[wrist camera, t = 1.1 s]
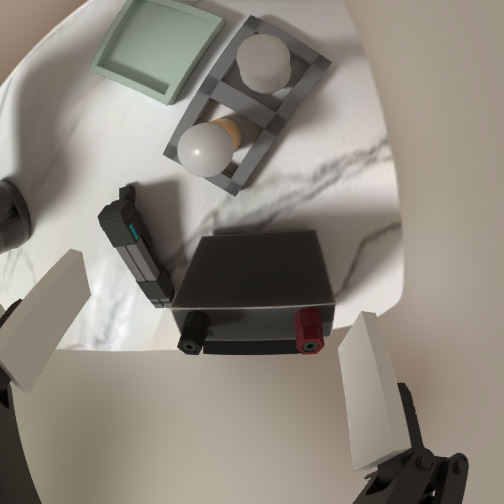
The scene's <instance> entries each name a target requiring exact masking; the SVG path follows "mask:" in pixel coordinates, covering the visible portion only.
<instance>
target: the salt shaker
mask: <svg viewBox="0 0 504 504" xmlns="http://www.w3.org/2000/svg"><path fill="white" fill-rule="evenodd" d="M290 57H291V56H290V53H289V50H288V48H287V46H286V45H285V44H284V43H283V42H282V41H281V40H280V39H279V38H278V37H275V36H272V35H269V34H255V35H253V36H251V37H249V38H247V39H245V40H244V41H243V42H242V44H241V45H240V46H239V47H238V50H237V57H236V61H237V64H238V66H239V69H240V75H241V78H242V80H243V83H244V84H246V85H247V86H248V87H249V88H250V89H251V90H254V91H256V92H259V93H262V94H263V93H274V92H276V91H278V90H280V89H282V88H284V87H285V85H286V84H287V83H288V81H289V80H290V77H291V71H292V68H291V65H290Z"/></svg>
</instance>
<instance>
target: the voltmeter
mask: <svg viewBox="0 0 504 504" xmlns="http://www.w3.org/2000/svg"><path fill="white" fill-rule="evenodd" d="M335 305H336V303H335V299H334V294H333V290H332V286H331V282H330V278H329V274H328V271H327V267H326V263H325V259H324V256H323V252H322V248H321V245H320V241H319V238H318V234H317V231H316V230H301V231H283V232H265V233H249V234H233V235H218V236H203V237H201V239H200V242H199V244H198V246H197V248H196V250H195V252H194V254H193V257H192V259H191V261H190V263H189V265H188V268H187V270H186V272H185V274H184V276H183V279H182V281H181V283H180V286H179V288H178V290H177V292H176V295H175V297H174V299H173V302H172V304H171V306H170V310H171V313H172V315H173V318H174V320H175V323H176V325H177V328H178V330H179V332H180V335H181V337H180V340H179V343H178V346H177V347H178V348H179V349H180V350H181V351H183V352H184V353H185V354H190V355H199V353H200V351H201V349H202V347H203V353H204V354H219V355H273V354H274V355H276V354H298V353H302V354H317V353H318V352H319V351H320V350H321V349H322V348H323V347H324V339H323V337H331V335H332V328H333V321H334V313H335Z"/></svg>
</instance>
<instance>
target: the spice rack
mask: <svg viewBox="0 0 504 504" xmlns="http://www.w3.org/2000/svg"><path fill="white" fill-rule="evenodd" d="M255 34H269V35H272V36H275V37H278V38H279V39H280V40H281V41H282V42H283V43H284V44H285V45H286V46H287V48H288V50H289V53H290V54H291V55H293V56H295V57H296V58H298V59H299V60H301V61H303V62H304V63H306V64H307V65H309V68H308V69H307V70H306V71H305V73H304V74H303V75H302V77H301V78H300V79H299V81H298V82H297V83H296V85H295V86H294V87H293V89H292V90H291V91H290V93H289V94H288V96H287V97H286V98H285V100H284V101H283V102H282V104H281V105H280V107H279V108H278V109H277V111H276V112H274V111H273V110H271V109H270V108H268V107H266V106H265V105H263V104H261V103H260V102H258V101H256V100H255V99H253V98H251V97H250V96H248V95H246V94H244V93H243V92H241V91H239V90H237V89H236V88H234V87H232V86H230V85H228V84H226V83H224V82H223V81H224V80H225V78H226V77H227V75H228V74H229V72H230V71H231V69H232V68H233V66H234V65H235V63H236V62H237V61H236V57H237V50H238V47H239V46H240V45H241V44H242V42H243V41H244V40H245V39H247V38H249V37H251V36H253V35H255ZM331 63H332V62H331V61H329V60H328V59H326V58H325V57H323V56H322V55H320V54H319V53H317V52H316V51H314V50H313V49H311V48H310V47H308V46H307V45H305V44H303V43H302V42H300V41H299V40H297V39H295V38H293V37H292V36H290V35H288V34H287V33H285V32H283V31H281V30H279V29H278V28H276V27H274V26H272V25H270V24H268V23H266V22H264V21H262V20H260V19H258V18H256V17H254V16H252V15H251V16H250V17H249V18H248V19H247V21H246V22H245V23H244V24H243V26H242V27H241V28H240V30H239V31H238V32H237V33H236V35H235V36H234V37H233V39H232V40H231V42H230V43H229V44H228V46H227V47H226V48H225V50H224V51H223V53H222V54H221V56H220V57H219V59H218V60H217V61H216V63H215V64H214V66H213V67H212V69H211V70H210V72H209V74H208V75H207V77H206V78H205V80H204V81H203V83H202V85H201V86H200V88H199V89H198V91H197V93H196V94H195V96H194V98H193V99H192V101H191V103H190V104H189V106H188V108H187V110H186V111H185V113H184V115H183V117H182V118H181V120H180V122H179V124H178V126H177V128H176V129H175V131H174V133H173V135H172V137H171V139H170V141H169V143H168V145H167V147H166V149H165V151H164V153H163V155H164V156H166V157H168V158H170V159H172V160H173V161H175V162H177V163H179V164H180V165H182V166H183V167H184V168H185V169H186V170H187V171H188V172H189V173H191V174H193V175H195V176H198V177H203V178H205V179H206V180H208V181H210V182H212V183H213V184H215V185H217V186H218V187H220V188H222V189H223V190H225V191H227V192H228V193H230V194H232V195H233V196H235V197H236V195H237V194H238V192H239V191H240V189H241V188H242V186H243V185H244V183H245V182H246V180H247V179H248V177H249V176H250V174H251V173H252V171H253V170H254V168H255V167H256V165H257V164H258V162H259V161H260V160H261V158H262V157H263V155H264V154H265V152H266V151H267V149H268V148H269V147H270V145H271V144H272V142H273V141H274V139H275V138H276V137H277V135H278V134H279V132H280V131H281V130H282V128H283V127H284V125H285V124H286V123H287V121H288V120H289V119H290V117H291V116H292V114H293V113H294V112H295V110H296V109H297V108H298V106H299V105H300V104H301V102H302V101H303V99H304V98H305V97H306V95H307V94H308V93H309V91H310V90H311V89H312V88H313V86H314V85H315V84H316V82H317V81H318V80H319V78H320V77H321V76H322V74H323V73H324V72H325V71H326V69H327V68H328V67H329V65H330V64H331ZM212 99H214V100H216V101H217V102H219V103H221V104H223V105H225V106H227V107H228V108H230V109H232V110H234V111H235V112H237V113H239V114H240V115H242V116H244V117H246V118H247V119H249V120H251V121H252V122H254V123H256V124H257V125H259V126H260V127H262V128H264V129H263V131H262V132H261V134H260V135H259V137H258V138H257V139H256V141H255V142H254V144H253V145H252V147H251V148H250V150H249V151H248V153H247V154H246V156H245V157H244V159H243V160H242V162H241V163H240V165H239V166H238V168H237V170H236V171H235V173H234V174H233V175H232V174H231V173H229V172H227V171H226V170H224V169H225V168H226V167H227V166H228V164H229V163H230V161H231V159H232V157H233V154H234V152H235V151H236V149H237V148H238V147H239V145H240V143H241V140H242V132H241V129H240V127H239V126H238V125H237V124H236V123H235V122H234V121H232V120H230V119H226V118H220V119H216V120H214V121H211V122H207V123H200V124H197V123H198V121H199V120H200V118H201V116H202V114H203V113H204V111H205V109H206V108H207V106H208V105H209V103H210V101H211V100H212Z"/></svg>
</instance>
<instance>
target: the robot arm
mask: <svg viewBox="0 0 504 504" xmlns="http://www.w3.org/2000/svg"><path fill="white" fill-rule="evenodd" d="M30 230H31V225H30V217H29V213H28V209H27V207H26V204H25V202H24V199H23V197H22V196H21V194H20V192H19V191H18V190H17V188H16V187H15V186H14V185H13V184H11V183H10V182H8V181H2V182H0V254H2V253H4V252H6V251H9V250H11V249H13V248H18V247H20V246H21V245H23V244H24V243H25V242H26V241H27V240H28V238H29V236H30ZM90 296H91V293H90V289H89V284H88V280H87V275H86V271H85V266H84V260H83V255H82V252H80V251H76V250H73V249H70V250H69V251H68V252H67V253H66V254H65V255H64V256H63V257H62V258H61V259H60V260H59V261H58V262H57V263H56V264H55V265H54V266H53V267H52V268H51V269H50V270H49V271H48V272H47V273H46V274H45V275H44V276H43V278H42V279H41V280H40V281H39V282H38V283H37V284H36V285H35V286H34V288H33V289H32V290H31V291H30V292H29V293H28V295H27V296H26V297H25V298H24V299H23V300H22V299H19V300H17V301H16V302H15V303H13V304H12V305H11V306H10V307H9V308H8V309H7V311H6V312H5V314H4V315H3V316H2V317H1V318H0V504H42V503H41V501H40V499H39V496H38V494H37V491H36V489H35V486H34V483H33V480H32V478H31V475H30V472H29V469H28V465H27V462H26V459H25V455H24V452H23V448H22V444H21V440H20V436H19V431H18V426H17V422H16V416H15V410H14V405H13V397H12V389H11V385H10V384H9V383H10V381H11V380H12V382H13V383H14V384H15V385H16V386H17V387H18V388H19V389H21V390H22V391H24V392H25V393H27V394H28V395H29V394H30V392H31V390H32V388H33V386H34V385H35V383H36V381H37V379H38V377H39V375H40V374H41V372H42V370H43V368H44V367H45V365H46V363H47V362H48V360H49V358H50V357H51V355H52V353H53V352H54V350H55V348H56V347H57V345H58V343H59V342H60V340H61V339H62V337H63V336H64V334H65V333H66V331H67V329H68V328H69V326H70V325H71V323H72V322H73V320H74V319H75V318H76V316H77V315H78V313H79V312H80V310H81V309H82V307H83V306H84V305H85V303H86V302H87V300H88V299H89V298H90ZM338 352H339V358H340V364H341V370H342V378H343V384H344V391H345V399H346V407H347V415H348V424H349V433H350V443H351V455H352V468H353V471H361V470H368V469H371V468H373V467H375V466H377V467H378V470H377V471H375V472H373V473H370V474H368V475H367V476H366V477H365V478H364V479H368V478H371V479H370V480H369V482H368V483H367V485H366V486H365V488H364V489H363V490H362V492H361V493H360V494H359V496H358V497H357V498H356V500H355V501H354V502H353V504H462V500H463V496H464V491H465V486H466V481H467V475H468V468H469V465H468V460H467V458H466V456H465V455H464V454H462V453H456V454H455V455H453V456H451V457H449V458H447V457H438V456H434V454H433V453H432V452H431V451H430V450H429V449H426V448H425V447H424V445H423V442H422V437H421V433H420V428H419V424H418V420H417V415H416V414H415V412H416V411H415V408H414V405H413V400H412V396H411V393H410V391H409V389H408V388H407V386H406V385H405V383H397V381H396V378H395V374H394V371H393V367H392V364H391V360H390V357H389V354H388V351H387V347H386V344H385V341H384V338H383V335H382V331H381V329H380V326H379V323H378V320H377V317H376V314H375V313H371V312H364V311H361V312H360V314H359V316H358V317H357V319H356V321H355V322H354V324H353V326H352V327H351V329H350V331H349V332H348V334H347V335H346V337H345V338H344V340H343V342H342V343H341V345H340V346H339V348H338ZM435 490H436V491H435ZM433 491H435V495H434V496H433V495H432V493H433Z"/></svg>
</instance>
